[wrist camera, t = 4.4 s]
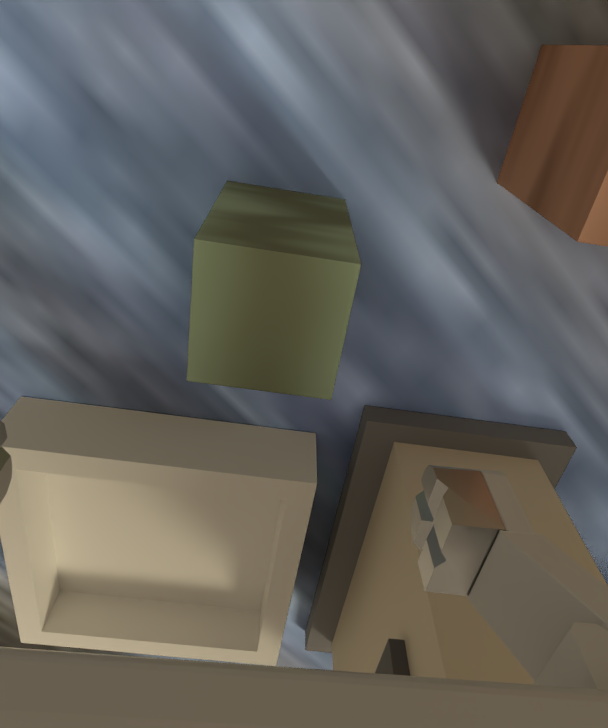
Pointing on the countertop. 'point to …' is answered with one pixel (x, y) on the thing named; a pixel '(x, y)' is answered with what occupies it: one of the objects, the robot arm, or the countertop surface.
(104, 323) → the countertop surface
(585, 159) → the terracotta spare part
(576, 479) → the countertop surface
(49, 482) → the parts tray
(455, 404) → the countertop surface
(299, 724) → the robot arm
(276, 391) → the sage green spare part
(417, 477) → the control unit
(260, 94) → the countertop surface
